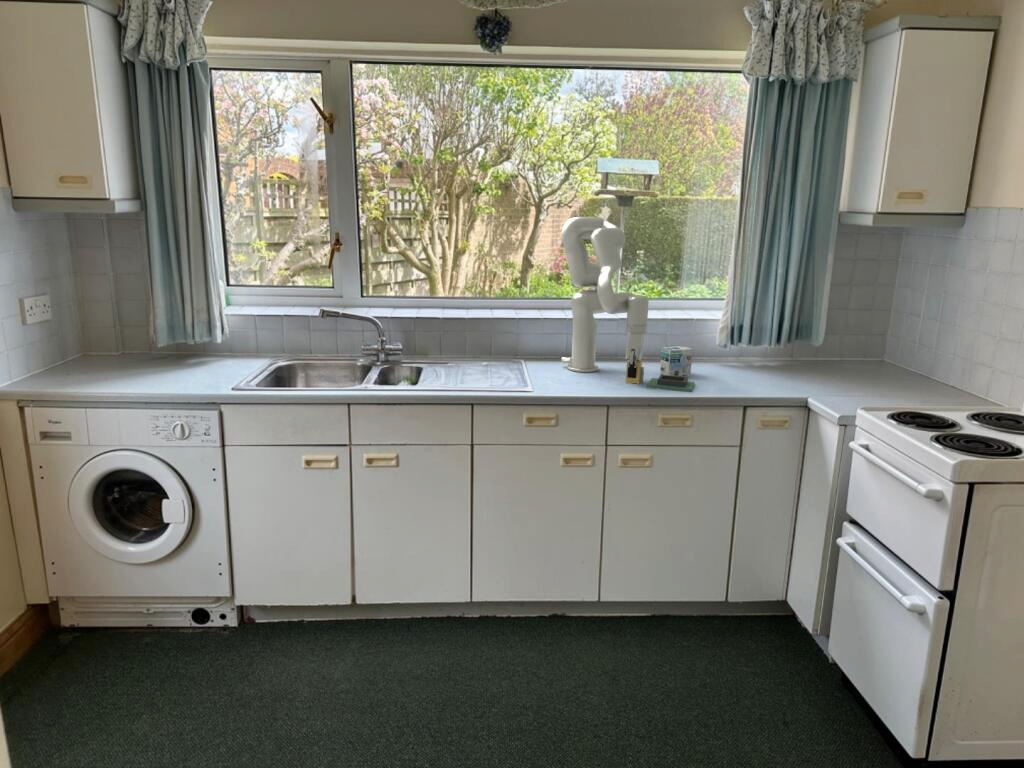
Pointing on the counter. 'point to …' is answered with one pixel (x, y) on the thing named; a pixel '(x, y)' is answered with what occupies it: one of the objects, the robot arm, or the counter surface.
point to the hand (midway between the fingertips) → (633, 375)
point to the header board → (671, 383)
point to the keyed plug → (638, 375)
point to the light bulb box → (676, 361)
